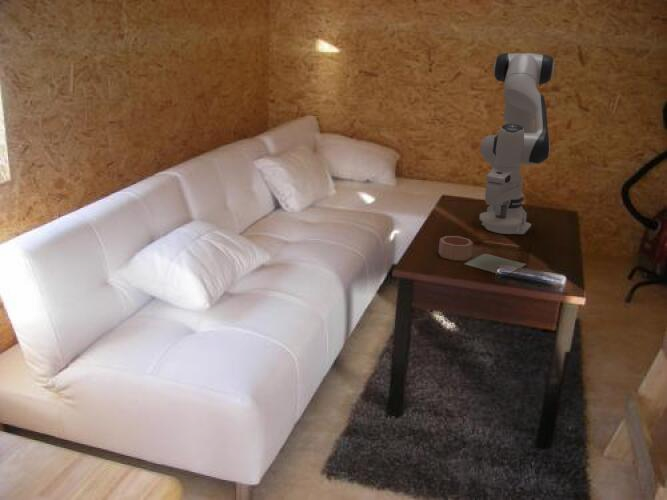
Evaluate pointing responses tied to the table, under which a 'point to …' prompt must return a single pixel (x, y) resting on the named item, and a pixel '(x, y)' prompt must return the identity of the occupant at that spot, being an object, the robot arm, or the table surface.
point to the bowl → (455, 248)
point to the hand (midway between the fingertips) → (501, 213)
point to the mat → (492, 262)
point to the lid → (501, 218)
